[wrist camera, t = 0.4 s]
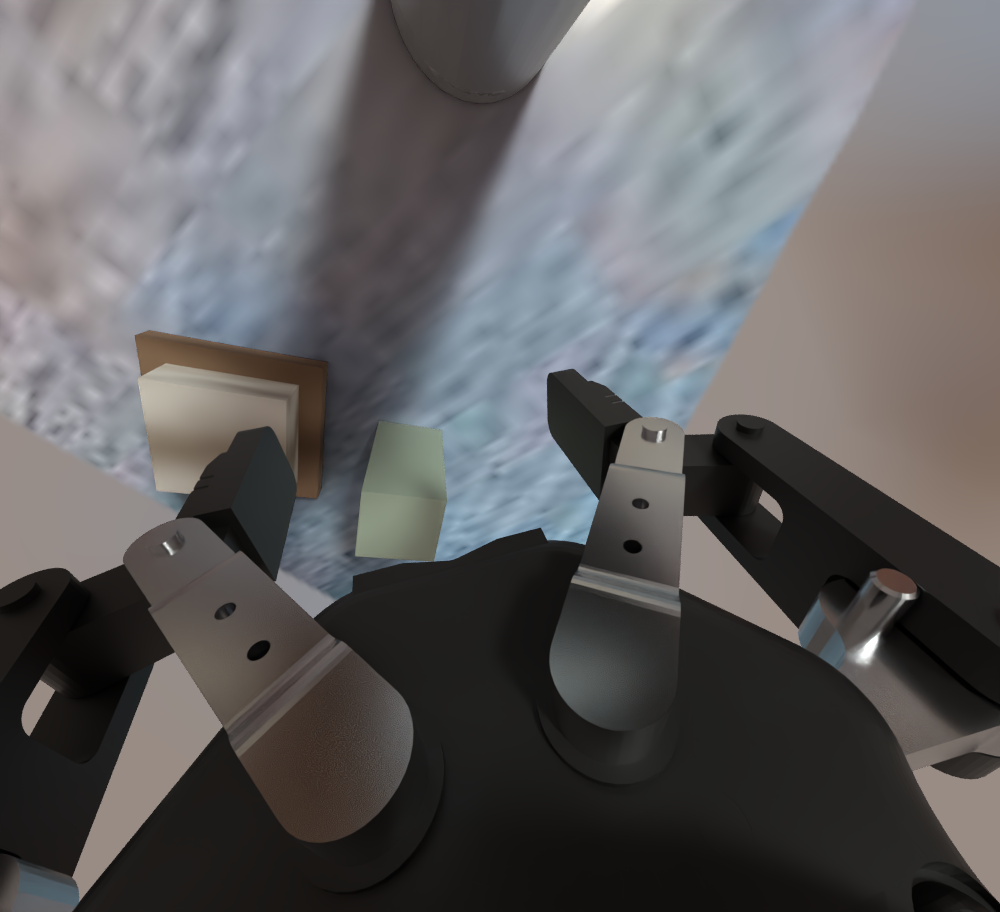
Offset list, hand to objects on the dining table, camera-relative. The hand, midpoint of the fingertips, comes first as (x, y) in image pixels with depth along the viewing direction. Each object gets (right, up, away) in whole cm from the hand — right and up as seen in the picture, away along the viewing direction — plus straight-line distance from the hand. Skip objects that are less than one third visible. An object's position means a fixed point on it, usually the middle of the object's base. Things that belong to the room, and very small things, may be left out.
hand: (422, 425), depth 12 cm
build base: (-17, +2, +18) cm, 25 cm away
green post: (-5, -1, +22) cm, 22 cm away
